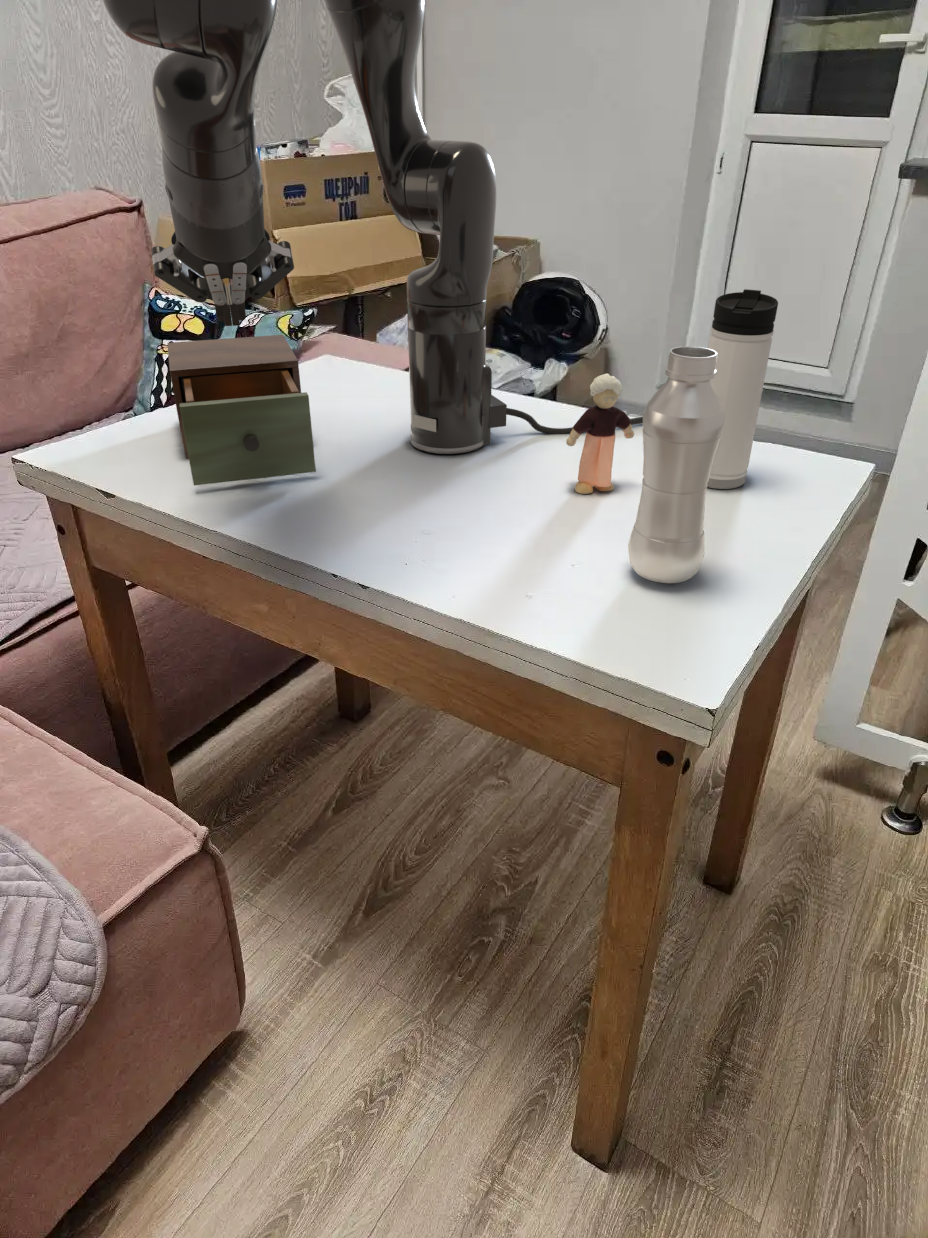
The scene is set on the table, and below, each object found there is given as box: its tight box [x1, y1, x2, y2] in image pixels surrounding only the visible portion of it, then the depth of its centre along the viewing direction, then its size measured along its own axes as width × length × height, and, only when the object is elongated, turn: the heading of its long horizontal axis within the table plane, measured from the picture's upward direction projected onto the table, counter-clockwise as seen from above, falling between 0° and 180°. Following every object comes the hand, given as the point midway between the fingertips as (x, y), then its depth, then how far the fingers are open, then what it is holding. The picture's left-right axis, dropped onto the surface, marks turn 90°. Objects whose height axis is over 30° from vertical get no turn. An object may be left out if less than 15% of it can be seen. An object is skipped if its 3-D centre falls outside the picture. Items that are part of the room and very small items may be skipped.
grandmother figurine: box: [565, 373, 635, 495], centre depth 91 cm, size 8×4×13 cm, turn 117°
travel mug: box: [707, 288, 779, 490], centre depth 91 cm, size 6×7×20 cm
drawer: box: [180, 368, 317, 486], centre depth 96 cm, size 14×13×9 cm
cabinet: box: [166, 334, 302, 460], centre depth 106 cm, size 14×15×11 cm
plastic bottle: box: [627, 346, 725, 584], centre depth 72 cm, size 6×7×20 cm
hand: (230, 318), depth 85 cm, fingers closed
